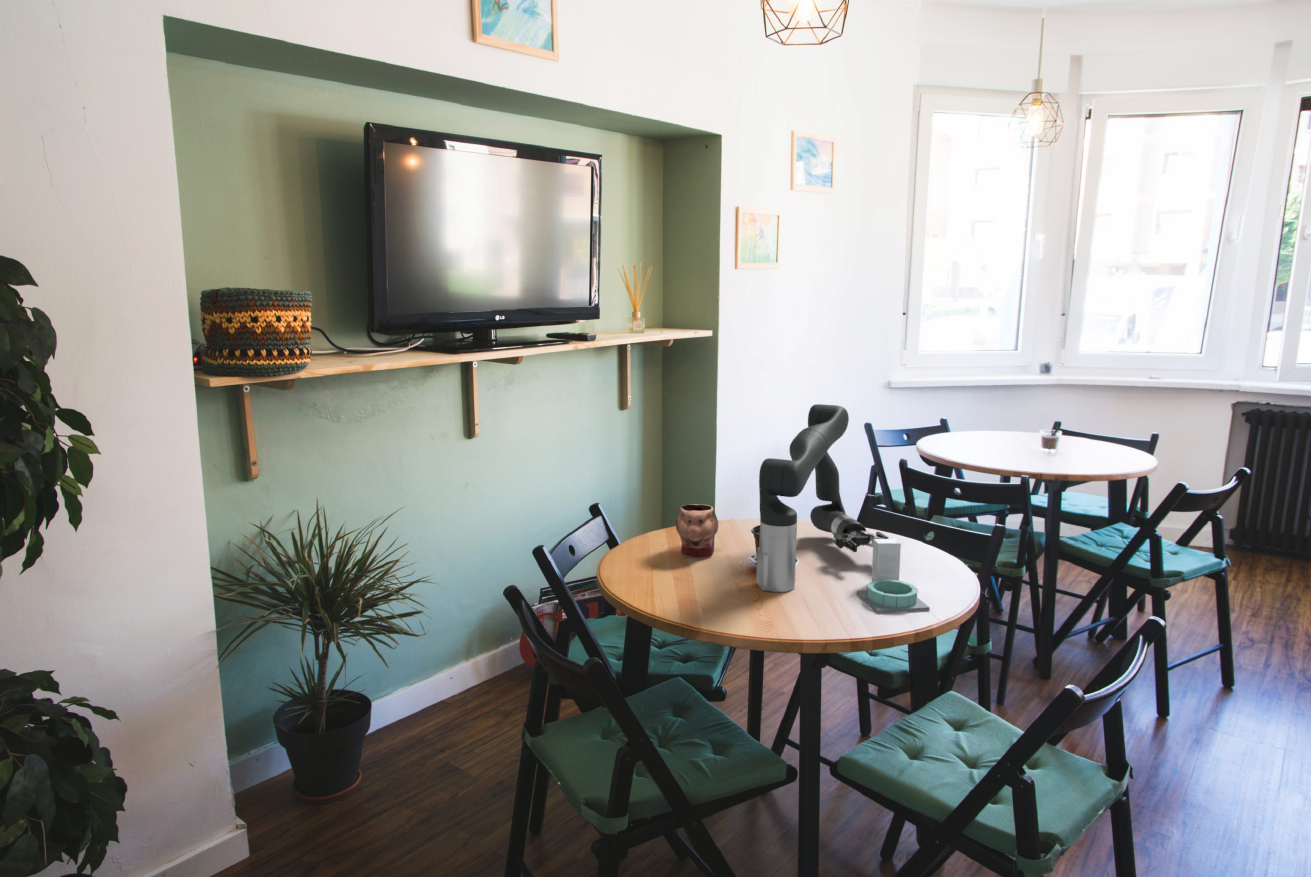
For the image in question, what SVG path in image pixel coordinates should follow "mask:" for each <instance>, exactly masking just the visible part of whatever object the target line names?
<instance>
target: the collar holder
mask: <svg viewBox="0 0 1311 877" xmlns="http://www.w3.org/2000/svg"><path fill="white" fill-rule="evenodd" d="M918 590H919V589H918V588H917V587H916V586H915V585H914V584H911V583H908V582H905V581H903V580H899V581H898V580H890V579H886V580H875V581H872V580H871V581H869V583H868V585H867V589H859V590H858V589H857V590H856V591H855V592H856V595H857V596H859V598H861V600H863V601H864V602H865V603H866V604H867V605H868V606H869V607H870V608H871V609H872V610H873V611H875V613H877V614H889V613H890V614H891V613H892V614H893V613H907V612H908V613H909V612H926V611H927V612H928V611H930V609H931V608H930V606H929V605H927V603H925V602H924V601H922V600H921V599H920V598H919V597H918Z"/></svg>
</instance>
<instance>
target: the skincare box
mask: <svg viewBox="0 0 1311 877" xmlns="http://www.w3.org/2000/svg"><path fill="white" fill-rule="evenodd" d="M901 545H902V543H901V542H900V541H898V539H897V538H889V539H873V547H872V560H871V562H872V563H871V582H872V581H875V580H886V579H890V580H898V581H900V571H901V570H900V567H901Z"/></svg>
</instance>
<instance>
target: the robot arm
mask: <svg viewBox="0 0 1311 877" xmlns="http://www.w3.org/2000/svg"><path fill="white" fill-rule="evenodd" d="M849 421H850V419H849V412H848V410H847V409H846V408H845V407H843V406H842V405H834V404H812V406H810V409H809V411H808V415H807V427H804V428H803V429H802V430H800V431H799V433H798V434H797V435H796V436H795V437H794V438H793V439H792V441H791V443H790V445H789V450H788V451H789V456H790V459H783V458H765V459H764V460H763V461H762V463H761V465H760V467H759V475H758V476H759V477H758V485H759V488H758V490H759V515H760V516H759V517H760V519H759V524H760V525H759V526H760V527H759V547H757V549H756V576H755V578H756V581H755V582H756V584H757V586H758V587H759V589H760V590H761V591H768V592H773V593H774V592H775V593H785V592H790V591H792V590H794V589H795V583H796V582H795V581H796V562H797V561H796V560H797V559H796V558H797V555H796V554H797V532H798V530H797V529H798V527H797V526H798V513H797V511H796V510H795V509H794V508H793V507H791V506H789V505H788V504H787V505H786V504H785V503H783V502H782V501H781V499H780V498H779V497H785V498H795V497H798V496H799V495H800V494H801V493H802V491H804V488H805V486H806V485H807V482H808V480H809V478H810V477H811V475H812V473H813V471H815V495H816V497H817V499H819V500H820V501H822V502H830V503H827V504H821V505H816V506H815V507H813V508H812V509H811V511H810V515H809V517H810V518H809V519H810V521H811V523H812V525H813V526H814V527H815V528H816V529H818V530H819V531H822V532H826V533H831V534H832V535H833V539H832V540H833V541H832V542H833V544H834V545H835V546H836V547H837V548H839V549H843V548H845V549H846V550H850V551H851V552H853V553H857V551H858V547H860V546H866V547H870V548H873V539H890V538H889V536H888V535H885V534H883V533H882V532H880V531H875V533H870V532H868V531H867V529H866V527H865V526H864V525H863V524H862V523H861V522H859V521H857V520H856V519H854V517H851V516H849V515H848V514H847V513H846V511H845V508H844V504H843V502H842V498H841V494H840V474H839V470H838V467H837V465H836V464H835V461H834V460H833V459H832V457H831V456H830V454H829V452H828V451H829V449H830V448H831V447H832V446H833V445H834V444H835V443H836V442H837V441H838V440H839V439H841V437H843V435H844V434H845V433H846V430H847V428H848V425H849Z"/></svg>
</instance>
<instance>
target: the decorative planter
mask: <svg viewBox="0 0 1311 877" xmlns="http://www.w3.org/2000/svg"><path fill="white" fill-rule="evenodd" d="M714 509H715V508H714V507H713V506H711V505H708V504H703V503H701V504H700V503H698V504H696V503H689V504H684V505H680V508H679V514H678V516H677V519H676V526H675V527H676V528H675V529H676V532H677V534H678V535H679V537H680V542H681V548H680V549H681V550H680V551H681V552H680V553H681V555H682V556H685V557H686V558H693V559H694V558H695V559H705V558H706V559H707V558H710V557H712V556H713V555H714V552H715V537H716V534H717V533H718V530H719V520H718V517H717V515H716V513H715V510H714Z"/></svg>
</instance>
